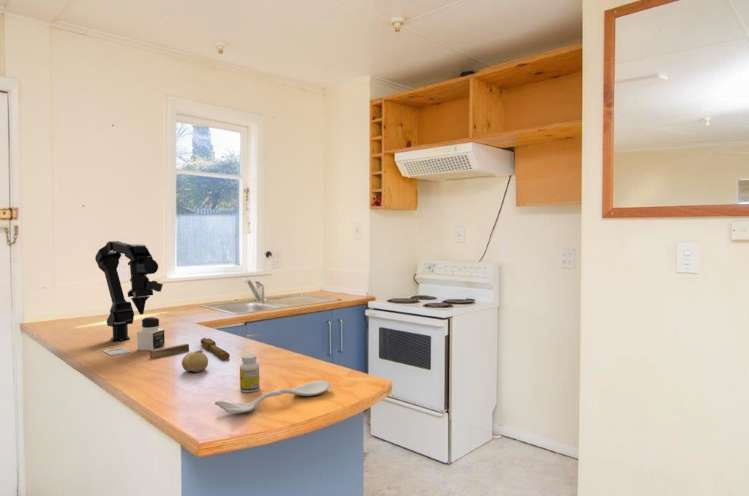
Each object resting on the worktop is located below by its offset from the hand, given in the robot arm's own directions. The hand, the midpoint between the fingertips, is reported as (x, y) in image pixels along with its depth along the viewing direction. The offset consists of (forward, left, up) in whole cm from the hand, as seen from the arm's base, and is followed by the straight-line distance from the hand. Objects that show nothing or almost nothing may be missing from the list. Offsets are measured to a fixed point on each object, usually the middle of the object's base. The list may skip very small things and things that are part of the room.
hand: (141, 314), depth 199 cm
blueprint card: (+6, -10, -12) cm, 17 cm away
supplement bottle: (+79, +16, -13) cm, 82 cm away
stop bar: (+22, +6, -12) cm, 26 cm away
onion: (+50, +8, -13) cm, 52 cm away
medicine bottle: (+8, +2, -13) cm, 15 cm away
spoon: (+93, +19, -13) cm, 96 cm away
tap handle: (+27, +21, -13) cm, 37 cm away
